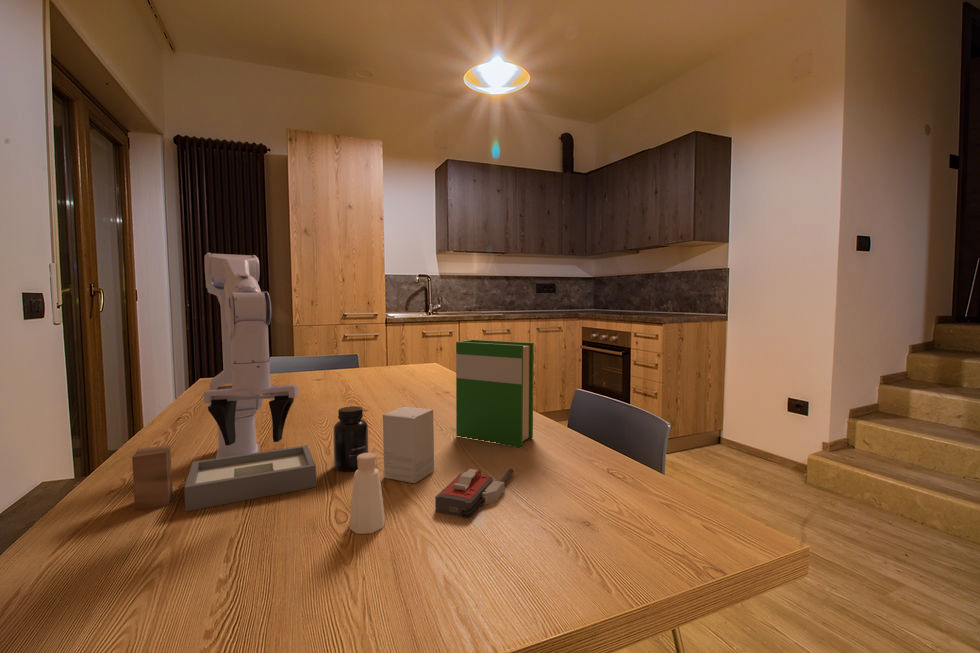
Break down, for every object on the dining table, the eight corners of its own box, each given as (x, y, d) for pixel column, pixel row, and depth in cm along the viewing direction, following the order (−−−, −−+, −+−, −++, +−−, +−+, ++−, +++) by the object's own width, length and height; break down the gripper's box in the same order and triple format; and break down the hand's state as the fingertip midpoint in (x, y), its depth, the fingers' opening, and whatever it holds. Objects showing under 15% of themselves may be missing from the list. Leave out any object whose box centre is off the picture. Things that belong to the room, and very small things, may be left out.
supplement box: (435, 470, 89) (435, 409, 89) (414, 484, 83) (413, 418, 82) (405, 465, 93) (404, 405, 92) (382, 478, 86) (381, 413, 85)
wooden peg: (140, 500, 76) (138, 448, 76) (172, 494, 78) (170, 444, 78) (134, 511, 72) (132, 457, 72) (168, 504, 74) (166, 452, 74)
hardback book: (532, 439, 110) (533, 342, 108) (521, 447, 103) (521, 345, 102) (470, 429, 118) (470, 339, 116) (456, 437, 111) (456, 341, 110)
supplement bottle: (359, 473, 88) (357, 413, 87) (328, 471, 89) (325, 412, 88) (374, 460, 95) (372, 405, 94) (344, 458, 96) (342, 404, 95)
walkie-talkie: (480, 527, 68) (517, 477, 87) (480, 499, 68) (517, 455, 87) (429, 517, 71) (475, 471, 90) (429, 490, 71) (475, 450, 90)
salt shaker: (352, 538, 64) (351, 464, 64) (346, 521, 69) (344, 452, 68) (389, 529, 67) (388, 457, 66) (380, 513, 72) (380, 447, 71)
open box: (193, 482, 83) (192, 461, 83) (307, 463, 93) (307, 445, 93) (185, 511, 72) (184, 487, 72) (316, 486, 82) (315, 465, 81)
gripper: (192, 366, 71) (195, 451, 71) (287, 361, 72) (290, 444, 72) (214, 363, 78) (217, 441, 78) (300, 359, 79) (303, 434, 79)
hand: (254, 442), depth 75 cm, fingers open, 7 cm apart
